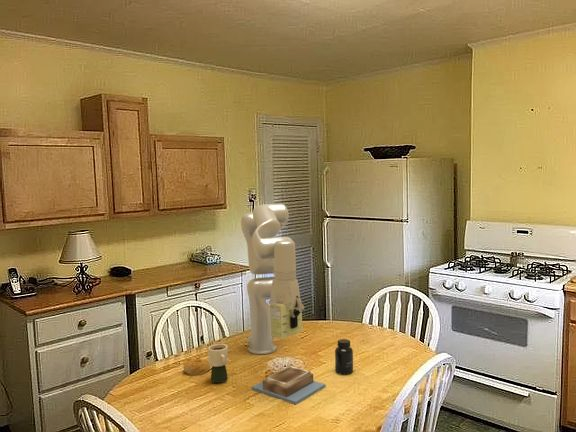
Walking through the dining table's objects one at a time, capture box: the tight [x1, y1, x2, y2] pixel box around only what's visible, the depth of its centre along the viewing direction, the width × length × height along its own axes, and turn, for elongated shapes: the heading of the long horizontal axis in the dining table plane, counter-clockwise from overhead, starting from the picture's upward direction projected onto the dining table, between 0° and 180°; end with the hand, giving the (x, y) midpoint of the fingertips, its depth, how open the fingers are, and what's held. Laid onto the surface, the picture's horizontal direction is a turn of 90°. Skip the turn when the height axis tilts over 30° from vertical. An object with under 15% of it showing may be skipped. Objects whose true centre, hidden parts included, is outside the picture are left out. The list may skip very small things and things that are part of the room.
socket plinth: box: [262, 365, 315, 397], centre depth 177 cm, size 11×15×4 cm
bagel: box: [183, 358, 211, 376], centre depth 196 cm, size 10×11×5 cm
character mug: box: [207, 343, 229, 383], centre depth 185 cm, size 11×7×13 cm, turn 31°
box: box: [269, 299, 303, 340], centre depth 176 cm, size 10×6×12 cm, turn 135°
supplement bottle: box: [334, 338, 354, 375], centre depth 191 cm, size 7×7×12 cm
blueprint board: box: [251, 380, 326, 406], centre depth 178 cm, size 20×17×1 cm
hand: (286, 325), depth 176 cm, fingers closed on box, 6 cm apart
